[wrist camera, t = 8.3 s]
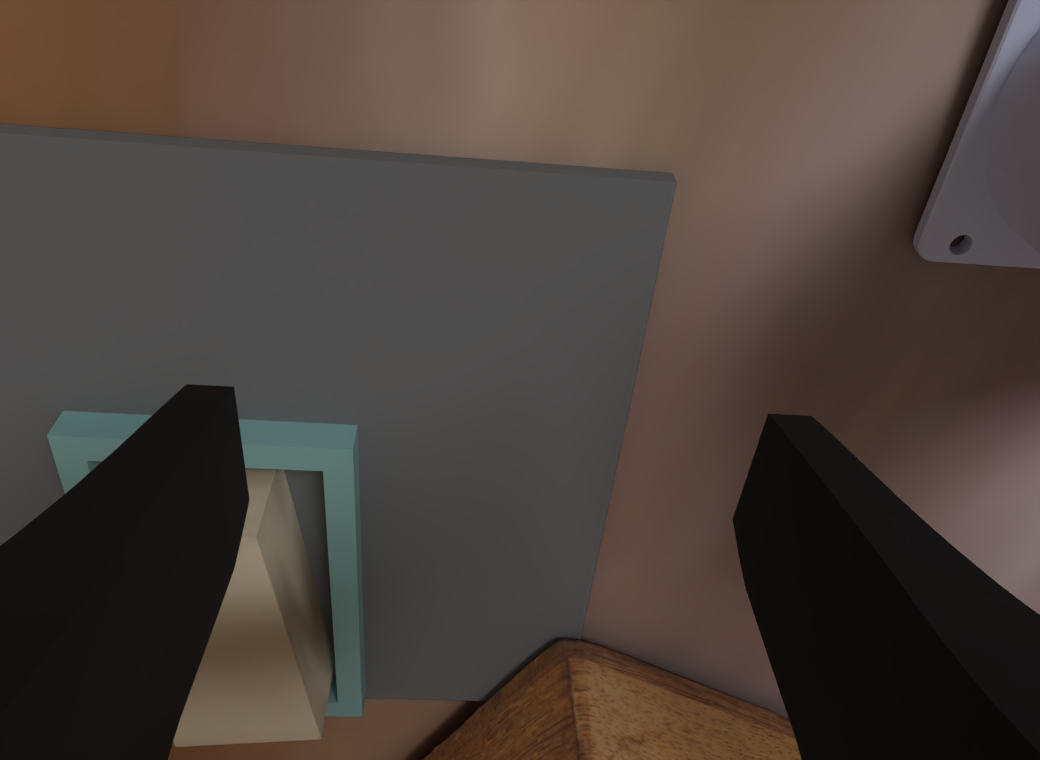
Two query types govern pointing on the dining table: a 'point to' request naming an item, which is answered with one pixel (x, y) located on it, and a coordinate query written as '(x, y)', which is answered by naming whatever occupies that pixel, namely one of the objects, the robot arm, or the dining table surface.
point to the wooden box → (614, 715)
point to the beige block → (264, 636)
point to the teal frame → (268, 446)
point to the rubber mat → (352, 356)
